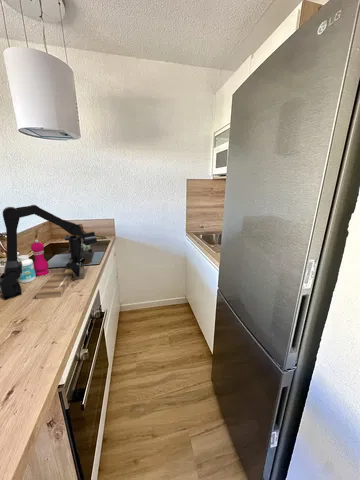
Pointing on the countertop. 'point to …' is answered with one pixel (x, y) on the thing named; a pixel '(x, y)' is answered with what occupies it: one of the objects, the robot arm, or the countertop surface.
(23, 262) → the pill bottle
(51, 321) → the countertop surface
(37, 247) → the pepper mill
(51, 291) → the plank
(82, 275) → the grey and beige block
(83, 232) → the olive oil
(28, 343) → the countertop surface
